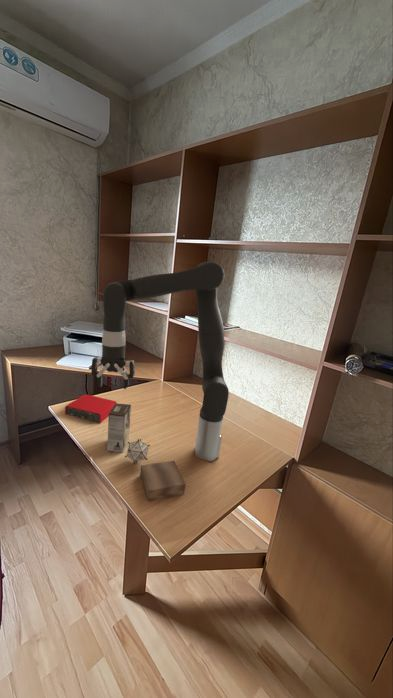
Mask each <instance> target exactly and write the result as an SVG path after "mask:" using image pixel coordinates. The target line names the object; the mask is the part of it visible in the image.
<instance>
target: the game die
mask: <svg viewBox="0 0 393 698" xmlns="http://www.w3.org/2000/svg"><path fill="white" fill-rule="evenodd" d="M127 444H128V447H127V452H126V455H125V456H124V458H127V457H128V458H129V459H130V460H131V461H133V464H136V463H138V462H139V461H143V460H146V461H148V458H147V455H148V450H149V447H150V446H151V445H150V444H147V443H145V442H143V441H142V438H138V439H137V440H136V441H133V442H130V441H128V442H127Z"/></svg>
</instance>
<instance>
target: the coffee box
mask: <svg viewBox="0 0 393 698" xmlns="http://www.w3.org/2000/svg"><path fill="white" fill-rule="evenodd" d="M131 408H132V404H126V403H116V404H115V405H114V407H113V408H112V410H111V411H110V413H109V416H108V421H107V422H108V425H107V426H108V427H107V447H106V449H107V450H106V451H108V452H115V453H124V451H125V450H126V447H127V446H128V442H129V440H130V428H131V427H130V426H131V411H132V409H131Z"/></svg>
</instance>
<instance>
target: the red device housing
mask: <svg viewBox="0 0 393 698" xmlns="http://www.w3.org/2000/svg"><path fill="white" fill-rule="evenodd" d="M116 403H117V401H116V400H113V399H107V398H104V397H100V396H95V395H90V394H86V393H85V394H83V395H81V396H80V397H78V398H76V399H75V400H73V401H72V402H70V403H69V404H66V405H65V407H64V414H65V415H69V416H73V417H76V418H81V419H84V420H86V421H87V420H88V421H92V422H94V423H95V422H96V423H98V424H99V425H100V424H102V423H103V422H104V421H105V420H106V419H107V418H109V413H110V411H111V410H112V408H113V407H114V405H115V404H116Z"/></svg>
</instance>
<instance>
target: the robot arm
mask: <svg viewBox="0 0 393 698" xmlns="http://www.w3.org/2000/svg"><path fill="white" fill-rule="evenodd" d="M224 280H225V271H224V269H223V267H222V266H221V265H220V264H219V263H217V262H214V261H203V262H200V263H198V264H197V265H196V267H194V268H190V269H187V270H183V271H178V272H171V273H170V272H169V273H160V274H153V275H148V276H141V277H138V278H134V279H126V280H119V281H111V282H109V283H107V284H106V286H105V287H104V289H103V293H102V294H103V296H102V302H103V303H102V305H103V328H102V330H103V331H102V339H101V343H102V344H101V346H102V347H101V358H99V357H97V356H94V357H93V359H92V360H91V373H90V374H91V375H92V376H95V377H96V384H97V386H98V387H99V388H102V386H103V385H104V384H103V382H104V381H103V380H104V379H103V378H104V377H103V375H104V373H105V371H107V372H108V373H111V372H114V373H119V374H120V375H121V376H122V377H123V378H124V379H123V390H127V389H128V387H129V384H130V383H129V382H130V379H133V378H134V377H135V360H134V359H131V360H126V340H127V339H126V335H127V334H126V315H125V313H126V305H127V304H126V302H127V301H128V302H129V301H133V300H138V301H139V300H148V299H152V298H157V297H162V296H166V295H170V294H174V293H180V292H185V291H195V293H196V300H197V302H196V303H197V328H198V332H197V333H198V341H199V350H200V355H201V361H202V385H201V386H202V388H201V389H202V393H203V398H202V399H203V400H202V405H201V407H200V410H199V416H198V423H197V429H196V430H197V431H196V439H195V443H194V444H195V445H194V454H195V456H196V457H197V458H199V459H201V460H203V461H208V462H213V461H215V460H216V459H218V458H219V457H220V451H221V445H222V439H223V436H222V435H221V433H222V426H223V420H224V416H225V414H226V410H227V407H228V401H229V395H230V393H229V392H230V391H229V387H228V385H227V383H226V381H225V378H224V373H223V366H222V365H223V364H222V363H223V361H222V360H223V355H224V349H225V329H224V323H223V319H222V314H221V311H220V308H219V302H218V288H219V287H220V286H221V285H222V284H223V283H224ZM100 363H101V365H102V366H103V367H102V368H101V369H100V370H99V371H98V365H99V364H100ZM125 365H127V367H128V368H129V372H128V371H127V369H126V367H125Z"/></svg>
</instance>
